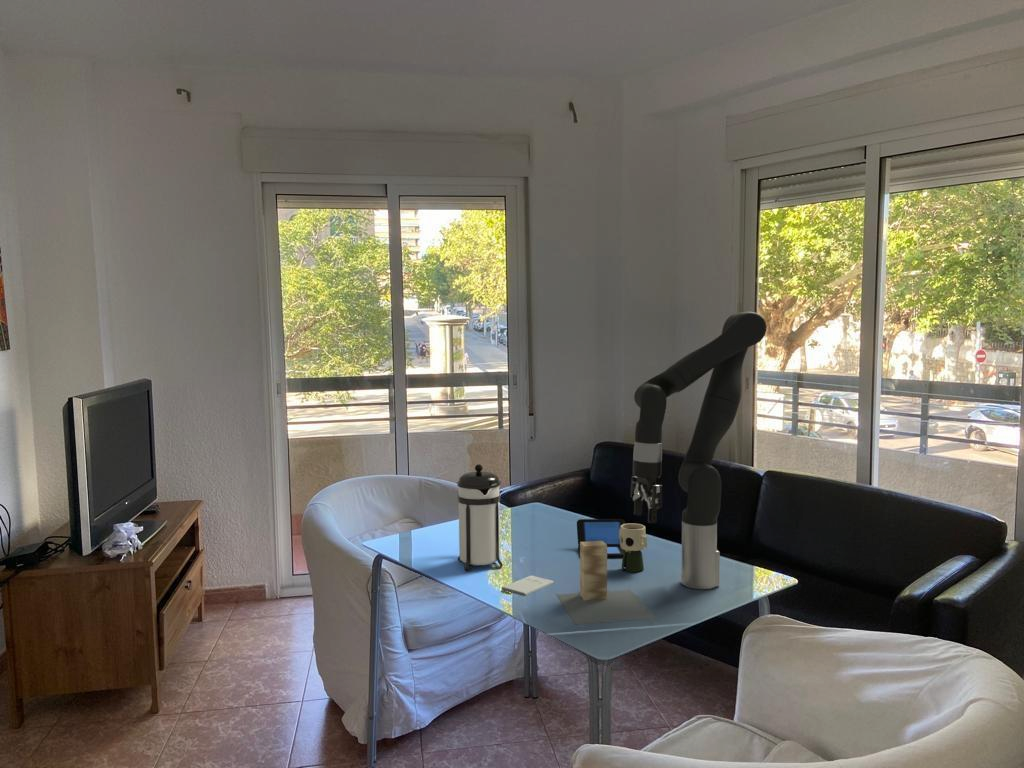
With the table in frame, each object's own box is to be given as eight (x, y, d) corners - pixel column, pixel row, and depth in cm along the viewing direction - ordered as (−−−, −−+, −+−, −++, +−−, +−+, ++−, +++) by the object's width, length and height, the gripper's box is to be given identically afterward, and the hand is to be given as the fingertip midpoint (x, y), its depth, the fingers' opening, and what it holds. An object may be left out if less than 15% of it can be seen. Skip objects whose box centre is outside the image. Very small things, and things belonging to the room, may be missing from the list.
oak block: (602, 593, 193) (602, 540, 192) (607, 598, 189) (607, 545, 188) (579, 594, 192) (579, 541, 191) (584, 600, 188) (584, 546, 187)
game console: (581, 560, 224) (581, 530, 223) (576, 546, 238) (576, 519, 237) (632, 559, 225) (632, 529, 224) (624, 545, 238) (624, 518, 237)
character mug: (610, 568, 215) (610, 524, 214) (628, 563, 219) (628, 520, 218) (637, 578, 206) (637, 532, 205) (655, 573, 210) (655, 528, 209)
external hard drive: (501, 592, 197) (530, 580, 207) (525, 599, 192) (554, 586, 202) (501, 586, 197) (530, 574, 207) (525, 593, 192) (554, 580, 202)
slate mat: (630, 591, 196) (630, 589, 196) (657, 620, 176) (657, 618, 176) (556, 596, 193) (556, 594, 193) (575, 626, 173) (575, 624, 173)
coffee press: (516, 561, 222) (515, 462, 220) (485, 576, 209) (484, 471, 207) (470, 552, 232) (469, 457, 230) (437, 565, 219) (436, 465, 217)
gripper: (672, 463, 192) (670, 524, 193) (648, 454, 206) (645, 512, 207) (646, 463, 190) (643, 526, 191) (623, 454, 204) (620, 513, 205)
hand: (644, 518), depth 199 cm, fingers open, 8 cm apart
